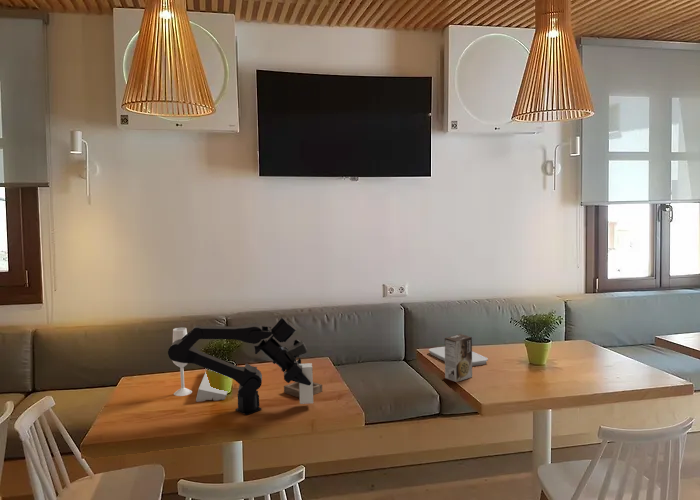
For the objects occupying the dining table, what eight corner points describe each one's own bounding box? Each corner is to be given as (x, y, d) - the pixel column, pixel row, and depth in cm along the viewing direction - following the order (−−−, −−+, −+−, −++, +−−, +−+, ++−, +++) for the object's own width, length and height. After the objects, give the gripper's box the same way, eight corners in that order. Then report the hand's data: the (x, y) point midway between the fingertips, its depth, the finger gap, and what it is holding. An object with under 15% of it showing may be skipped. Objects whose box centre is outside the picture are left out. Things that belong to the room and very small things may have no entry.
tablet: (457, 369, 231) (457, 364, 231) (426, 353, 255) (426, 348, 255) (490, 364, 237) (490, 359, 237) (457, 349, 261) (457, 344, 261)
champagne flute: (172, 396, 205) (169, 331, 203) (174, 390, 212) (171, 327, 210) (191, 395, 207) (188, 330, 204) (193, 389, 213) (190, 326, 211)
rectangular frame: (302, 398, 200) (302, 392, 200) (284, 392, 207) (283, 386, 207) (322, 391, 208) (322, 384, 207) (304, 385, 214) (303, 379, 214)
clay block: (299, 404, 190) (298, 367, 189) (299, 399, 195) (298, 363, 194) (313, 403, 191) (312, 367, 190) (312, 398, 195) (311, 363, 194)
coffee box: (460, 373, 225) (460, 333, 223) (472, 377, 220) (472, 336, 218) (444, 378, 220) (443, 337, 218) (456, 382, 214) (456, 340, 213)
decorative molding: (231, 377, 235) (207, 372, 234) (234, 366, 235) (210, 361, 233) (223, 407, 201) (195, 402, 200) (226, 394, 201) (198, 389, 200)
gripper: (293, 341, 181) (328, 373, 183) (292, 328, 199) (324, 357, 202) (269, 367, 181) (304, 398, 183) (270, 351, 199) (302, 379, 201)
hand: (309, 382), depth 192 cm, fingers closed on clay block, 4 cm apart
